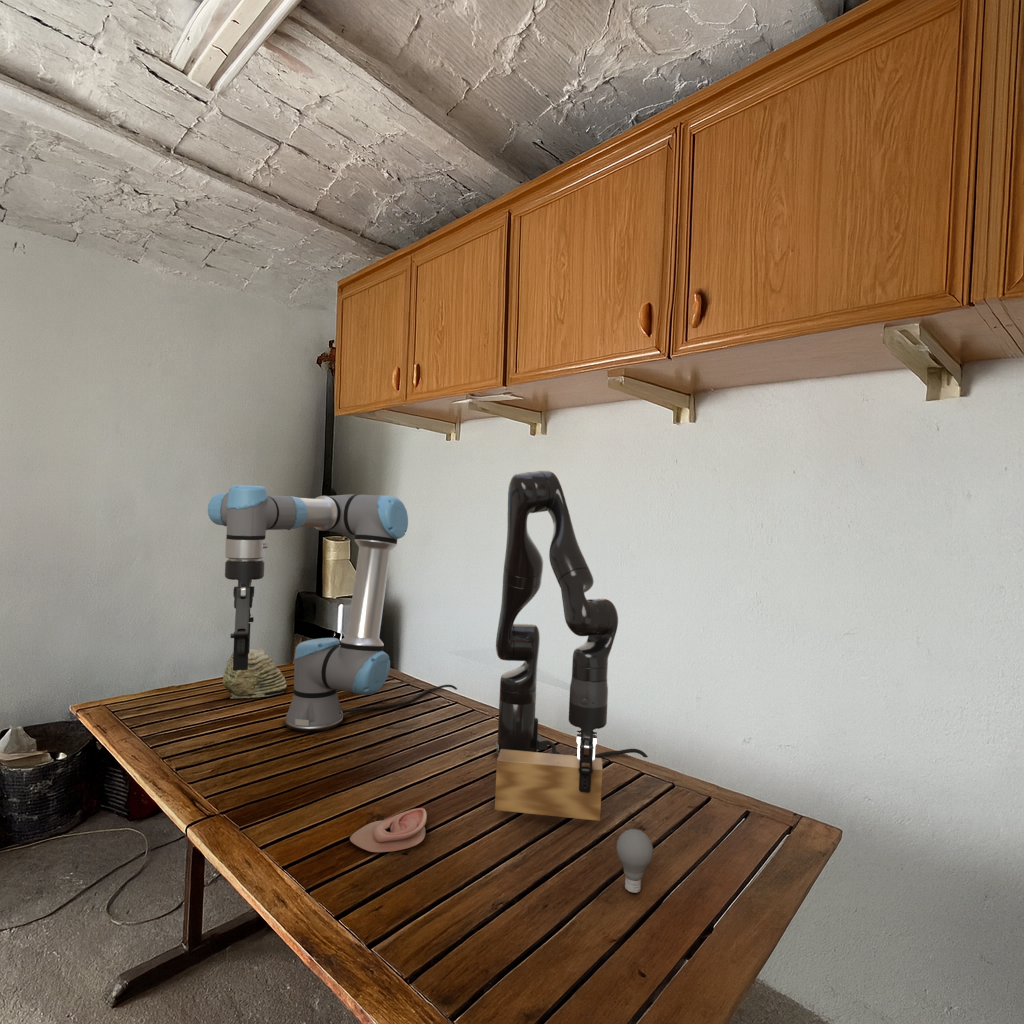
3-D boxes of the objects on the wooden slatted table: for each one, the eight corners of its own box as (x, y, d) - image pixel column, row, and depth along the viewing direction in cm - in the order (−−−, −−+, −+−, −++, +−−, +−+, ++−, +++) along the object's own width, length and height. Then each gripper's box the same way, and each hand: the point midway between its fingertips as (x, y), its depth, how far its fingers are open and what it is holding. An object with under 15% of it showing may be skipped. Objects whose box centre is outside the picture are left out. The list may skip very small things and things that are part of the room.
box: (494, 810, 125) (496, 760, 125) (498, 796, 131) (500, 748, 130) (600, 821, 122) (602, 769, 122) (599, 806, 128) (601, 758, 128)
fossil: (218, 695, 195) (220, 647, 195) (278, 685, 208) (279, 640, 207) (228, 703, 189) (230, 653, 188) (289, 692, 201) (290, 645, 201)
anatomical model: (342, 825, 115) (369, 797, 126) (341, 847, 115) (368, 817, 126) (412, 836, 112) (433, 806, 123) (411, 859, 112) (432, 826, 123)
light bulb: (610, 879, 108) (613, 822, 108) (644, 879, 109) (647, 822, 109) (619, 902, 102) (622, 840, 102) (655, 901, 103) (658, 840, 103)
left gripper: (264, 566, 121) (260, 676, 122) (264, 553, 144) (261, 646, 145) (221, 566, 119) (217, 678, 119) (228, 553, 142) (225, 647, 142)
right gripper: (608, 713, 118) (604, 803, 118) (606, 690, 132) (603, 771, 132) (568, 709, 119) (564, 799, 119) (570, 688, 133) (567, 767, 133)
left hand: (241, 661), depth 132 cm, fingers open, 13 cm apart
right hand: (584, 783), depth 126 cm, fingers closed on box, 5 cm apart
